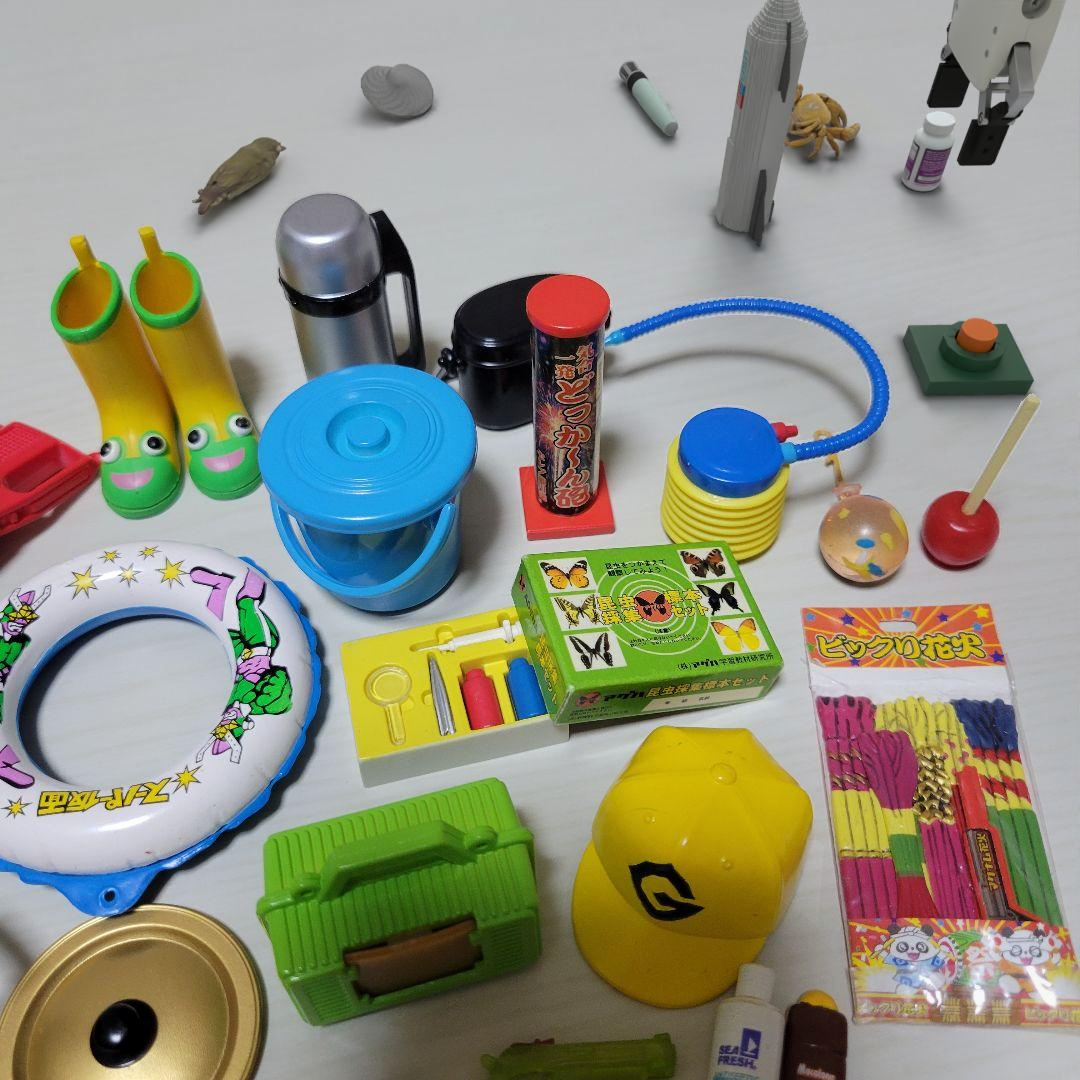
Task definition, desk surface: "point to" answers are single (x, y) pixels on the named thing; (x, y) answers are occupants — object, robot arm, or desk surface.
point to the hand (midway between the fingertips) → (958, 134)
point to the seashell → (397, 90)
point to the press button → (977, 335)
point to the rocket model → (761, 117)
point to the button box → (965, 363)
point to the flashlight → (648, 97)
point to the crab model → (818, 121)
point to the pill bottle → (929, 152)
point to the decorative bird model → (239, 172)
